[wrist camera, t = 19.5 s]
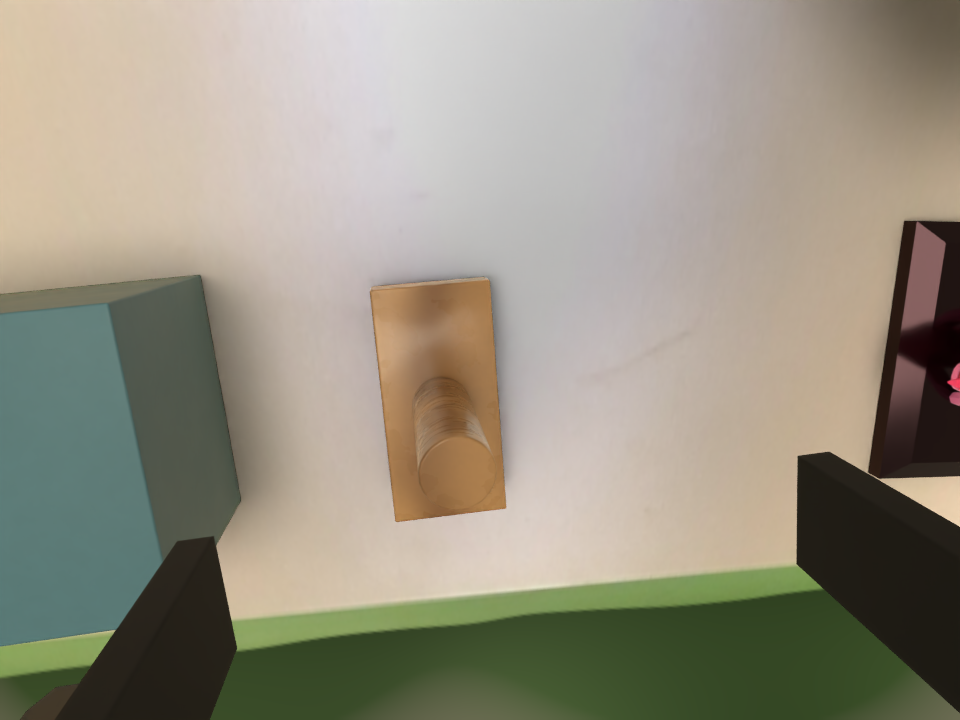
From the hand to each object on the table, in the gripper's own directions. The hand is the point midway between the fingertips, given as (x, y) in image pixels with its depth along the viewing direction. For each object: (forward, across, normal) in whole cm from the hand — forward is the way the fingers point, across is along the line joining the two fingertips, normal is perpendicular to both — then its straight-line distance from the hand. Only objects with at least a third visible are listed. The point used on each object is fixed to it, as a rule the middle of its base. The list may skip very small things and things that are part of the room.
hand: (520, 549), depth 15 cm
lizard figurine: (+22, +33, -4) cm, 40 cm away
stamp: (+21, -1, -2) cm, 21 cm away
